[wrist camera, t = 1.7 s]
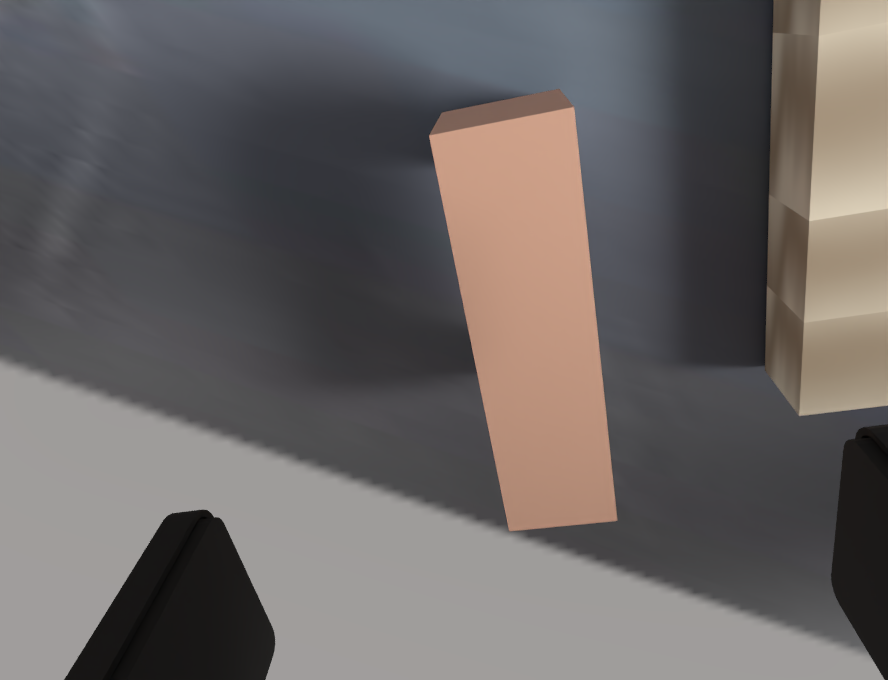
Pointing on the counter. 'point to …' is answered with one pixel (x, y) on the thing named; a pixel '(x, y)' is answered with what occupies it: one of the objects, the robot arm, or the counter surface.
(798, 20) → the beige flat slotted block
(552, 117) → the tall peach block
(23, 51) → the counter surface
